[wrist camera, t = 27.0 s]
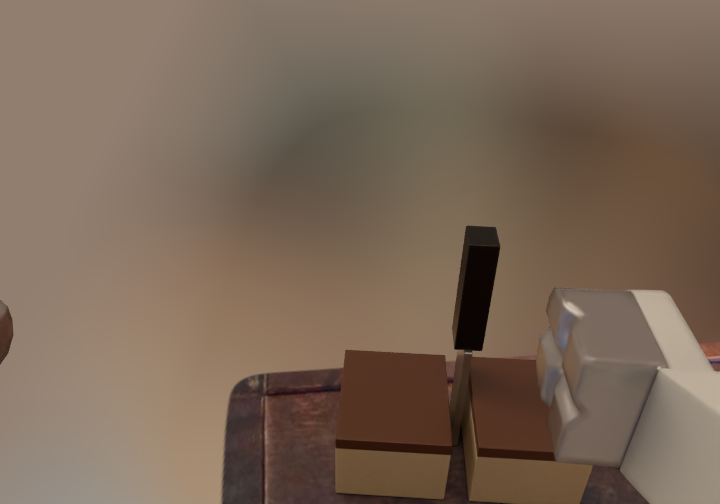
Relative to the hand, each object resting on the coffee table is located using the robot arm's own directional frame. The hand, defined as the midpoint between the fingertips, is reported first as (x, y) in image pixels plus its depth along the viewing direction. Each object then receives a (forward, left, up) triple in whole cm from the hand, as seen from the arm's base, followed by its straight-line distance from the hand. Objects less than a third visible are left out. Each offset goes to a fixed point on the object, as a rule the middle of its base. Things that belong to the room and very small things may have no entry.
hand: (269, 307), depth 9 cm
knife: (+8, +28, -35) cm, 46 cm away
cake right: (+13, +26, -35) cm, 45 cm away
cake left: (+3, +26, -35) cm, 44 cm away
